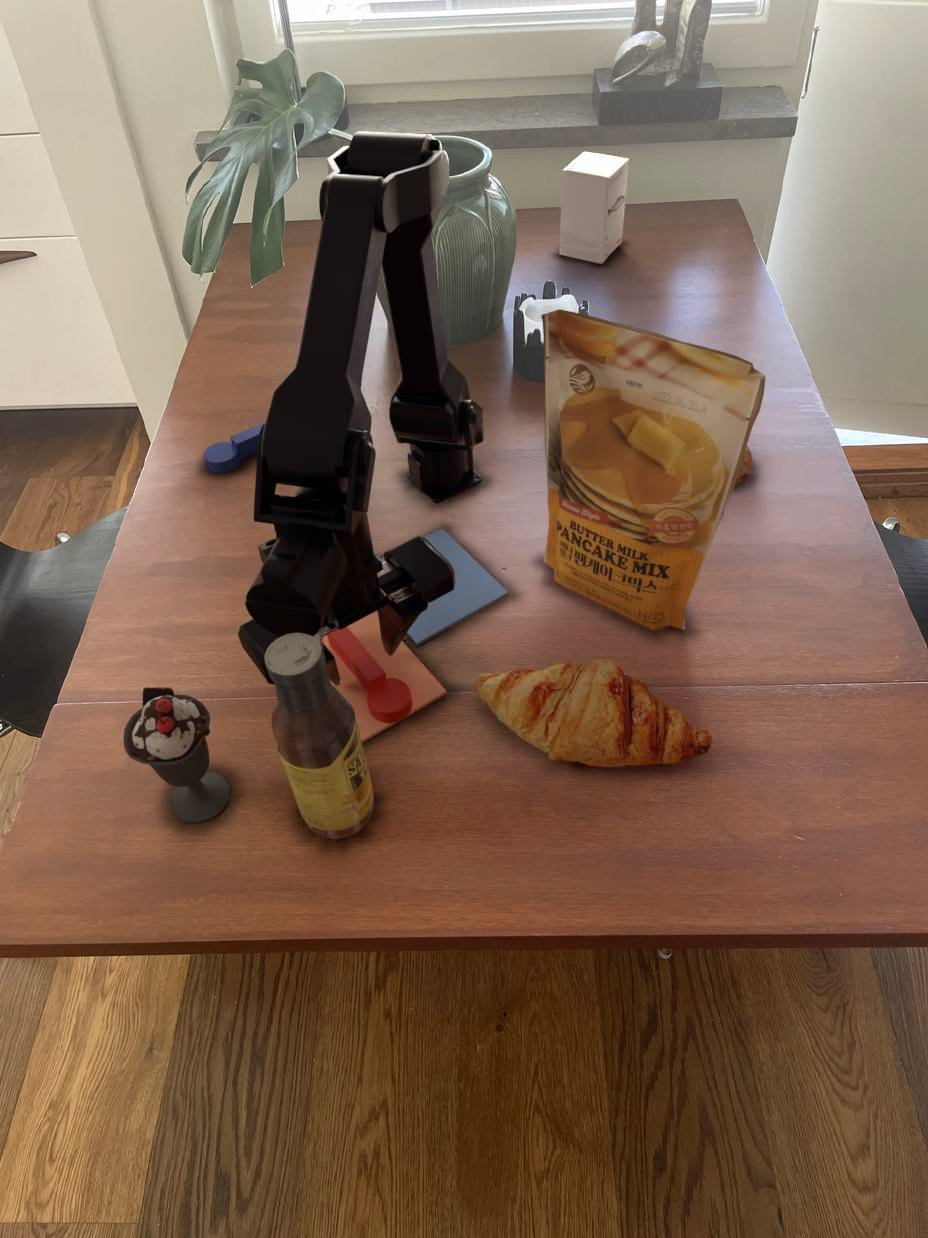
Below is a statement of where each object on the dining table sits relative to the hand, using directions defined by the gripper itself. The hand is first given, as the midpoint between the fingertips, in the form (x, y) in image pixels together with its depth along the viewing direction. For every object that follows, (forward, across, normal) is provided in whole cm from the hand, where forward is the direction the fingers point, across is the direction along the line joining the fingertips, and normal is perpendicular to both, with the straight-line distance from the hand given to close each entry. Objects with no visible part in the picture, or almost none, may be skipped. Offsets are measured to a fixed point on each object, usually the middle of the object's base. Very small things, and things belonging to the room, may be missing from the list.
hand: (362, 667), depth 86 cm
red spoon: (+1, 0, 0) cm, 1 cm away
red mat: (+1, 0, 0) cm, 1 cm away
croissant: (+1, -13, +17) cm, 21 cm away
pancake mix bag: (+1, -26, +6) cm, 27 cm away
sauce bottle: (+1, +9, +11) cm, 14 cm away
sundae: (+1, +18, +3) cm, 18 cm away
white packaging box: (+1, -70, -50) cm, 86 cm away
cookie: (+1, -47, -3) cm, 47 cm away
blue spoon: (+1, -8, -38) cm, 39 cm away
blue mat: (+1, -12, -6) cm, 13 cm away
